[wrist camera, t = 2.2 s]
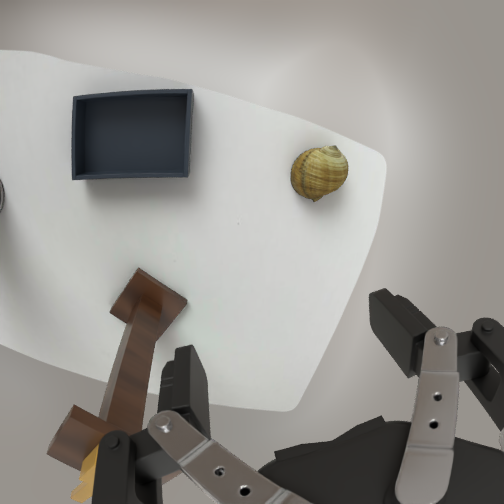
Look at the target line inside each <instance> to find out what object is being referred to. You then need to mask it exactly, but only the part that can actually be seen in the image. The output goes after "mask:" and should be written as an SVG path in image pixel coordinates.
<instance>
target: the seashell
mask: <svg viewBox="0 0 504 504" xmlns="http://www.w3.org/2000/svg"><path fill="white" fill-rule="evenodd" d="M291 170H292V171H291V183H292V186H293V188H294V190H295V191H296V192H297V193H298V194H299V195H301V196H304V197H305V198H308V199H312V200H313V202H316V201H317V200H319V199H320V198H322V197H323V195H326V194H329V193H331V192H333V191H335V190H337V189H338V188H339V187H340V186H341V185H342V184H343V183H344V181H345V180H346V178H347V175H348V162H347V160H346V158H345V156H344V155H343V154H342V153H341V152H340V150H339V149H338V148H337V147H336V146H325V147H322V148H314V149H310V150H308V151H305V152H304V153H302V154H301V155H300V156H299V157H298V158H297V159H296V161H294V164H293V167H292V169H291Z"/></svg>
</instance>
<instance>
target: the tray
mask: <svg viewBox="0 0 504 504" xmlns="http://www.w3.org/2000/svg"><path fill="white" fill-rule="evenodd" d="M193 96H194V93H193V90H192V89H160V90H136V91H121V92H109V93H98V94H89V95H81V96H74V97H73V110H72V180H84V179H107V178H148V177H188V176H189V174H190V152H191V130H192V112H193Z"/></svg>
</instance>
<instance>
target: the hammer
mask: <svg viewBox="0 0 504 504" xmlns="http://www.w3.org/2000/svg"><path fill="white" fill-rule="evenodd" d="M98 447H99V444H98V445H97V446H96V448H95V449H94V450H93V451H92V452H91V453H90V454H89V455H88V456H87V457H86V458H85V459H84V461H83V463H82V468H81V473H80V477H79V480H81V481H83V482H82V483H81V484H80V485H79V486H77V487H76V488H75V489H74V490H73V491H72V493H71V499H73V500H75V501H78V502H80V503H83V502H84V501H86V500H87V499H88V498H90V497H91V496H92V494H93V485H94V476H95V468H96V461H97V454H98Z"/></svg>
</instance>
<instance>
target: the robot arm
mask: <svg viewBox="0 0 504 504" xmlns="http://www.w3.org/2000/svg"><path fill="white" fill-rule="evenodd" d="M3 203H4V190H3V186H2V183H1V181H0V212H1V210H2V207H3ZM369 312H370V325H371V328H372V330H373V332H374V334H375V335H376V336H377V338H378V339H379V340H380V342H381V343H382V344H383V345H384V347H385V348H386V350H387V351H388V352H389V354H390V355H391V356H392V358H393V359H394V360H395V362H396V363H397V364H398V366H399V367H400V368H401V370H402V371H403V372H404V374H405V375H406V376H407V378H410V377H412V376H414V375H417V376H418V377H419V380H418V386H417V393H416V398H415V403H414V408H413V413H412V418H411V422H407V421H388V422H385V421H384V419H383V417H382V416H379V417H377V418H374V419H372V420H369V421H367V422H364V423H362V424H359V425H357V426H355V427H354V428H352V429H350V430H349V431H347V432H346V433H344V434H343V435H341V436H339V437H338V438H336V439H334V440H332V441H327V442H318V443H308V444H300V445H297V446H293V447H290V448H286V449H282V450H278V451H275V452H274V453H275V457H276V459H274V460H272V461H271V462H269V463H267V464H266V465H264V466H263V467H262V468H261V469H259V470H258V471H256V470H254V469H253V468H251V467H250V466H248V465H247V464H246V463H244V462H243V461H241V460H240V459H239V458H237V457H236V456H235V455H233V454H232V453H231V452H229V451H228V450H227V449H225V448H224V447H223V446H222V445H220V444H219V443H218V442H216V441H215V440H214V439H211V436H210V420H209V402H208V383H207V377H206V373H205V370H204V368H203V366H202V363H201V361H200V359H199V357H198V355H197V352H196V350H195V348H194V346H193V345H188V346H184V347H179V348H176V349H175V358H174V360H173V361H169V362H167V363H166V365H165V367H164V368H163V370H162V375H161V384H160V387H161V388H160V393H159V402H158V411H157V414H156V415H154V416H153V417H152V418H151V419H150V421H149V423H148V426H147V428H146V429H144V430H142V431H140V432H137V433H135V434H132V435H129V436H128V434H127V433H126V432H124V431H121V430H114V431H111V432H109V433H107V434H105V435H104V436H103V437H102V439H101V440H100V442H99V447H98V454H97V461H96V468H95V476H94V485H93V494H92V504H163V500H162V477H164V476H166V475H169V474H171V473H174V472H176V471H178V470H181V471H182V472H183V473H184V474H185V475H186V476H187V477H188V478H189V479H190V480H191V481H192V482H193V483H194V484H195V485H196V486H198V487H199V488H200V489H201V490H202V491H203V492H204V493H205V494H206V495H207V496H208V497H210V498H211V499H212V500H213V501H214V502H215V503H216V504H504V327H503V326H502V325H500V323H499V322H497V321H496V320H494V319H491V318H480V319H478V320H476V321H475V322H474V324H473V327H472V330H471V331H466V332H461V333H455V332H454V331H453V330H451V329H450V328H447V327H436V326H435V325H434V324H433V323H432V322H431V321H430V320H429V319H428V318H427V317H426V316H425V315H424V314H423V313H422V312H421V311H419V309H418V308H417V307H416V306H414V304H412V303H411V302H410V301H409V300H408V299H407V298H404V297H402V296H400V295H396V296H393V295H392V294H391V293H390V292H389V291H388V290H387V289H386V288H383V289H381V290H378V291H375V292H372V293H370V294H369ZM491 364H492V365H493V366H494V367H495V368H496V370H497V371H498V372H499V373H498V372H497V371H496V370H495V369H494V367H493V366H492V365H491ZM460 381H464V382H465V383H466V384H467V386H468V387H469V388H470V390H471V391H472V392H473V394H474V395H475V396H476V398H477V399H478V400H479V401H480V403H481V404H482V406H483V407H484V408H485V410H486V411H487V413H488V414H489V416H490V417H491V418H492V420H493V421H494V423H495V424H496V426H497V427H498V428H499V430H500V431H501V433H500V436H499V443H500V446H501V450H499V449H495V448H492V447H488V446H484V445H480V444H477V443H474V442H470V441H466V440H464V439H460V438H457V437H455V430H456V429H455V428H456V420H457V410H458V397H459V382H460Z"/></svg>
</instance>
